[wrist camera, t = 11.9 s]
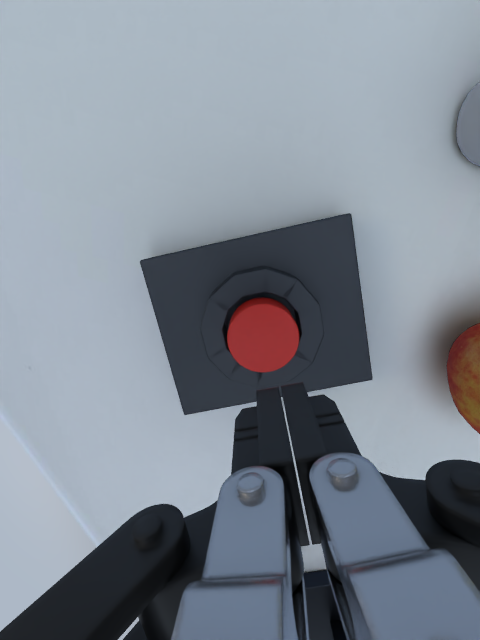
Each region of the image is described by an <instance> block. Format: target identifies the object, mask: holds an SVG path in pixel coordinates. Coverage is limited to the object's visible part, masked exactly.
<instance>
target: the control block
mask: <svg viewBox="0 0 480 640" xmlns="http://www.w3.org/2000/svg"><path fill="white" fill-rule="evenodd" d="M140 264H141V267H142V271H143V274H144V277H145V281H146V284H147V288H148V291H149V295H150V298H151V302H152V305H153V309H154V312H155V315H156V319H157V322H158V326H159V329H160V333H161V336H162V340H163V343H164V347H165V350H166V353H167V357H168V360H169V364H170V367H171V371H172V374H173V378H174V381H175V385H176V388H177V391H178V395H179V398H180V402H181V405H182V409H183V412H184V415H187V414H193V413H198V412H203V411H208V410H214V409H219V408H224V407H230V406H235V405H240V404H246V403H251V402H256V401H257V396H256V391H257V390H262V389H268V388H273V387H279V391H280V396H281V397H283V396H282V391H281V386H284V385H290V384H295V383H301V382H303V383H304V386H305V389H306V391H307V392H310V391H315V390H320V389H326V388H331V387H336V386H342V385H347V384H352V383H358V382H363V381H368V380H372V371H371V363H370V356H369V348H368V340H367V332H366V325H365V317H364V309H363V302H362V294H361V286H360V279H359V271H358V263H357V255H356V248H355V240H354V232H353V225H352V217H351V214H350V213H348V214H343V215H338V216H334V217H330V218H325V219H321V220H316V221H312V222H307V223H303V224H298V225H294V226H290V227H285V228H281V229H276V230H272V231H267V232H263V233H258V234H254V235H250V236H245V237H241V238H236V239H232V240H227V241H223V242H218V243H214V244H210V245H205V246H201V247H196V248H192V249H187V250H183V251H179V252H174V253H170V254H165V255H161V256H156V257H152V258H148V259H144V260H141V261H140ZM259 297H265V298H271V299H274V300H277V301H278V302H280V303H282V304H283V305H284V306H285V307H286V308H287V309H288V310H289V311H290V313H291V315H292V316H293V318H294V320H295V322H296V324H297V326H298V330H299V346H298V349H297V351H296V353H295V355H294V357H293V358H292V359H291V360H290V361H289V362H288V363H287V364H286V365H285V366H283V367H281V368H280V369H277V370H275V371H271V372H255V371H251V370H249V369H246V368H244V367H243V366H241V365H240V364H239V363H238V362H237V361H236V360H235V359H234V358H233V356H232V355H231V353H230V350H229V347H228V343H227V334H228V328H229V323H230V320H231V317H232V315H233V313H234V312H235V310H236V309H237V308H238V307H239V306H240V305H241V304H243V303H244V302H246V301H248V300H250V299H254V298H259Z"/></svg>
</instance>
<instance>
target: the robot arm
mask: <svg viewBox="0 0 480 640" xmlns="http://www.w3.org/2000/svg"><path fill="white" fill-rule="evenodd" d="M281 391H282V396H283V401H284V406H285V411H286V416H287V421H288V426H289V431H290V436H291V441H292V446H293V451H294V456H295V461H296V466H297V471H298V476H299V481H300V486H301V491H302V496H303V501H304V506H305V511H306V515H307V520H308V525H309V530H310V535H311V540H312V545H313V544H320V543H321V545H322V549H323V554H324V558H325V562H326V568H327V573H328V578H329V582H330V586H331V589H332V592H333V596H334V599H335V602H336V605H337V609H338V612H339V615H340V618H341V622H342V625H343V628H344V632H345V635H346V638H347V640H480V463H477V462H472V461H467V460H447V461H442V462H439V463H437V464H435V465H433V466H432V467H431V468H430V469H429V470H428V472H427V474H426V480H415V479H404V478H396V477H392V476H389V475H386V474H383V473H381V472H379V471H378V470H377V468H376V467H375V466H374V464H373V463H372V462H370V461H369V460H368V459H366V458H364V457H362V456H361V454H360V452H359V450H358V448H357V446H356V444H355V442H354V440H353V438H352V436H351V434H350V432H349V430H348V428H347V426H346V424H345V423H344V420H343V418H342V416H341V414H340V412H339V410H338V408H337V406H336V404H335V402H334V401H333V400H331V399H330V398H328V397H327V396H325V395H318V396H312V397H308V394H307V391H306V389H305V386H304V383H303V382H301V383H295V384H290V385H284V386H281ZM256 396H257V406H256V407H251V408H245V409H242V410H241V412H240V413H239V415H238V416H237V418H236V419H235V432H234V445H233V458H232V472H231V476H229V477H228V478H227V479H226V481H225V482H224V483H223V485H222V487H221V489H220V493H219V498H218V500H217V501H216V502H215V503H214V504H212V505H211V506H209V507H207V508H205V509H203V510H201V511H198V512H196V513H194V514H192V515H189V516H187V517H185V518H183V515H182V513H181V511H180V510H179V509H178V508H177V507H175V506H173V505H169V504H159V505H154V506H151V507H148V508H146V509H144V510H142V511H140V512H138V513H137V514H135V515H134V516H133V517H131V518H130V519H129V520H128V521H127V522H125V523H124V524H123V525H122V526H121V527H120V528H119V529H117V530H116V531H115V532H114V533H113V534H112V535H111V536H109V537H108V538H107V539H106V540H105V541H104V542H103V543H101V544H100V545H99V546H98V547H97V548H96V549H95V550H93V551H92V552H91V553H90V554H89V555H88V556H86V557H85V558H84V559H83V560H82V561H81V562H80V563H79V564H77V565H76V566H75V567H74V568H73V569H72V570H71V571H70V572H68V573H67V574H66V575H65V576H64V577H63V578H61V579H60V580H59V581H58V582H57V583H56V584H54V585H53V586H52V587H51V588H50V589H49V590H48V591H46V592H45V593H44V594H43V595H42V596H41V597H40V598H38V599H37V600H36V601H35V602H34V603H33V604H31V605H30V606H29V607H28V608H27V609H26V610H25V611H23V612H22V613H21V614H20V615H19V616H18V617H17V618H15V619H14V620H13V621H12V622H11V623H10V624H9V625H7V626H6V627H5V628H4V629H3V630H2V631H1V632H0V640H118V639H119V637H120V636H121V635H122V634H123V633H124V632H125V631H126V629H127V628H128V627H129V626H130V625H131V624H132V622H134V620H135V619H136V618H137V617H139V622H138V623H137V624H136V625H135V626H134V627H133V628H132V630H131V631H130V632H129V633H128V634H127V635H126V636H125V638H124V639H123V640H309V629H308V617H307V605H306V593H305V583H304V578H303V573H304V563H303V557H302V551H301V546H308V545H309V540H308V535H307V529H306V524H305V519H304V514H303V509H302V503H301V498H300V493H299V488H298V483H297V477H296V472H295V467H294V462H293V457H292V451H291V446H290V441H289V436H288V431H287V426H286V421H285V416H284V411H283V406H282V401H281V396H280V391H279V387H273V388H268V389H262V390H257V391H256Z"/></svg>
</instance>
